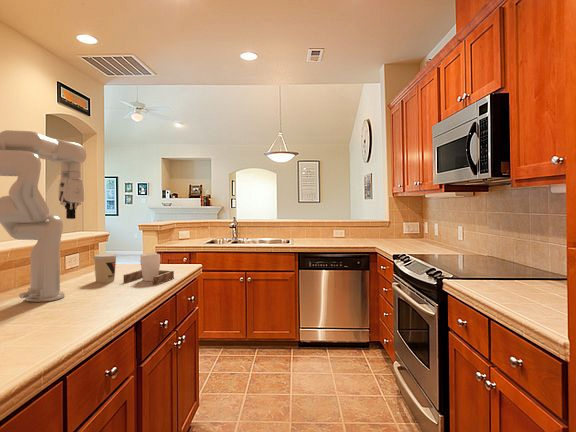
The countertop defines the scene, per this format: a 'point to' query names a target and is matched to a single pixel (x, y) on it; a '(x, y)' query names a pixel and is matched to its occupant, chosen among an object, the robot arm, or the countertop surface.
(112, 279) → the coffee cup
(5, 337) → the countertop surface
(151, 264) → the cup
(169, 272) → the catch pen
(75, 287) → the countertop surface
